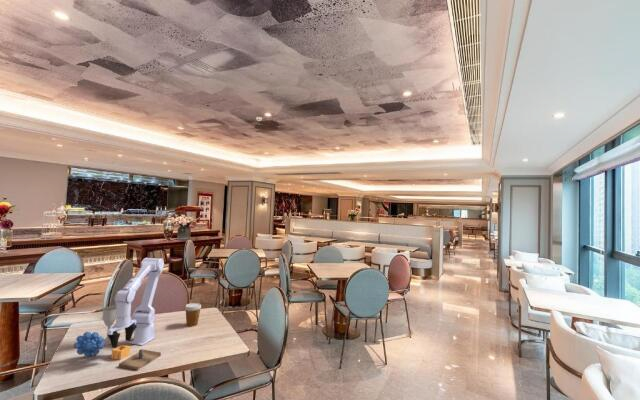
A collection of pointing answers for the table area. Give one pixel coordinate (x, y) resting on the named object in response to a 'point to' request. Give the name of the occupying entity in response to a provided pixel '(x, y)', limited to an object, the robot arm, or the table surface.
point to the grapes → (89, 344)
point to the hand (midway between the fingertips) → (121, 344)
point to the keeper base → (140, 359)
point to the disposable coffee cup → (192, 313)
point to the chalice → (109, 319)
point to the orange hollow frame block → (120, 352)
